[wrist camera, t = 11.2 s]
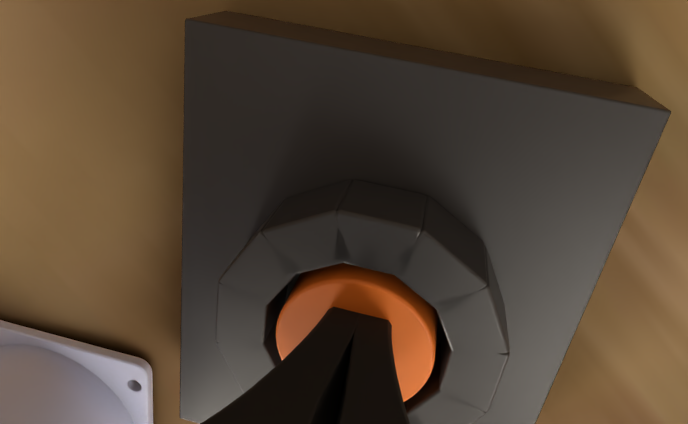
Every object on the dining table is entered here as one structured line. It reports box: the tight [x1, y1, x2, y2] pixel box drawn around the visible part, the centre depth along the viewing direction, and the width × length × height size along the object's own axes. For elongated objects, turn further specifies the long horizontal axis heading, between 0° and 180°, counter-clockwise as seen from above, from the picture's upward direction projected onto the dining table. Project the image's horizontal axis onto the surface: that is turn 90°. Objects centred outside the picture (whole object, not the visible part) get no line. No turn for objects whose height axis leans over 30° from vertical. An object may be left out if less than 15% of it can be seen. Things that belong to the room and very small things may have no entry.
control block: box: [180, 11, 671, 424], centre depth 14 cm, size 12×10×4 cm
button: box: [276, 263, 438, 402], centre depth 12 cm, size 4×4×2 cm
